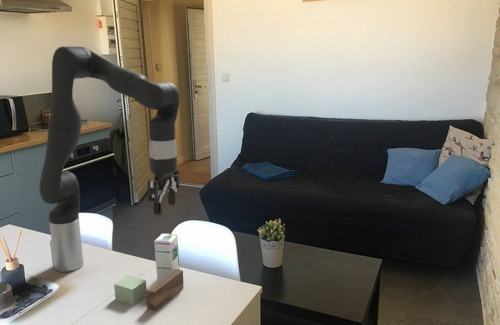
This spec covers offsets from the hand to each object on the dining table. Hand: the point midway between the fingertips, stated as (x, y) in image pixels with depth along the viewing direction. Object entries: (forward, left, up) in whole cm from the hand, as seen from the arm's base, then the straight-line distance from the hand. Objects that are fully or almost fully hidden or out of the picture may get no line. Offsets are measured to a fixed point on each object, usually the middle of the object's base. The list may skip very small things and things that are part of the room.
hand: (165, 209), depth 124 cm
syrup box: (-6, +8, -28) cm, 30 cm away
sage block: (-10, -6, -28) cm, 30 cm away
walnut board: (0, -2, -28) cm, 28 cm away
